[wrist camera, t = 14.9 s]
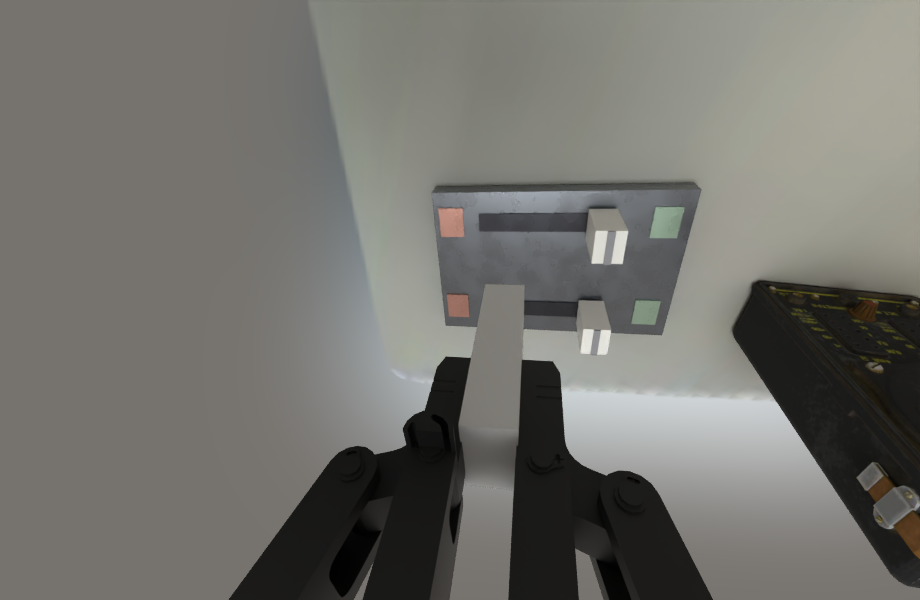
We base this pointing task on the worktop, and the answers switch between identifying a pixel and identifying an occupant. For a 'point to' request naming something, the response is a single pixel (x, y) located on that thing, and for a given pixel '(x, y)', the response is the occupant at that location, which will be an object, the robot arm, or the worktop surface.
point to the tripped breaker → (593, 327)
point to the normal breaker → (606, 236)
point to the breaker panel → (562, 250)
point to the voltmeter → (849, 399)
